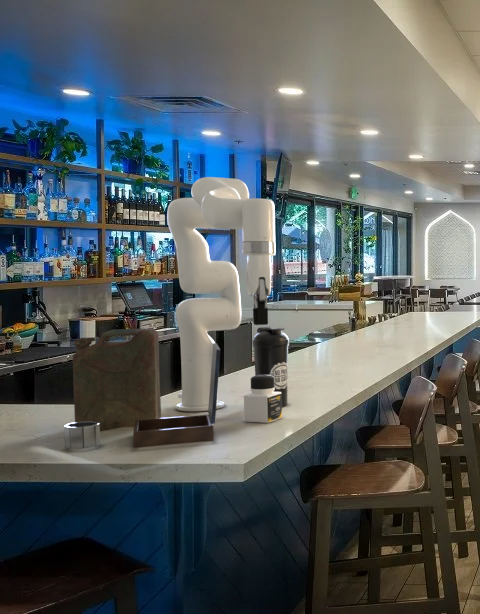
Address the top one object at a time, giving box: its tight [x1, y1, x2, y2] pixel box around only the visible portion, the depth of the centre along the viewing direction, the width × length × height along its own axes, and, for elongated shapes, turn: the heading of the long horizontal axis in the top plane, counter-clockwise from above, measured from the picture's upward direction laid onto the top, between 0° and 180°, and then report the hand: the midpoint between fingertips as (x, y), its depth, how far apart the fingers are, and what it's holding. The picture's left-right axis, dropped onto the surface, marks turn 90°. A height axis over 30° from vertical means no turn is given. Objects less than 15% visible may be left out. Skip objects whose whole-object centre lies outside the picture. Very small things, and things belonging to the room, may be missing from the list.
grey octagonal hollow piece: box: [63, 421, 101, 449], centre depth 179 cm, size 7×7×6 cm
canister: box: [72, 327, 162, 432], centre depth 200 cm, size 19×8×25 cm, turn 106°
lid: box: [207, 342, 221, 425], centre depth 190 cm, size 17×15×1 cm
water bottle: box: [251, 326, 290, 408], centre depth 230 cm, size 10×10×23 cm
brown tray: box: [132, 414, 214, 449], centre depth 187 cm, size 17×15×4 cm
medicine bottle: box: [243, 375, 283, 424], centre depth 211 cm, size 7×7×12 cm
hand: (260, 324), depth 194 cm, fingers closed
